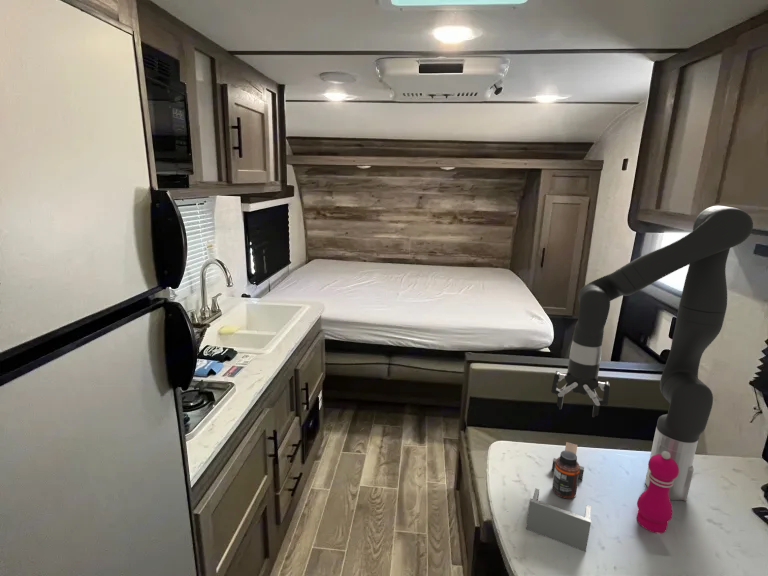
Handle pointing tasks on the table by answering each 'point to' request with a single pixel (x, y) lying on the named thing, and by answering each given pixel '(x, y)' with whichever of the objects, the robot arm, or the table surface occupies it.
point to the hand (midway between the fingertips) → (576, 411)
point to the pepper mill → (657, 494)
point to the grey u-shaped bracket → (558, 523)
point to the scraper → (573, 449)
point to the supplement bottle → (566, 475)
